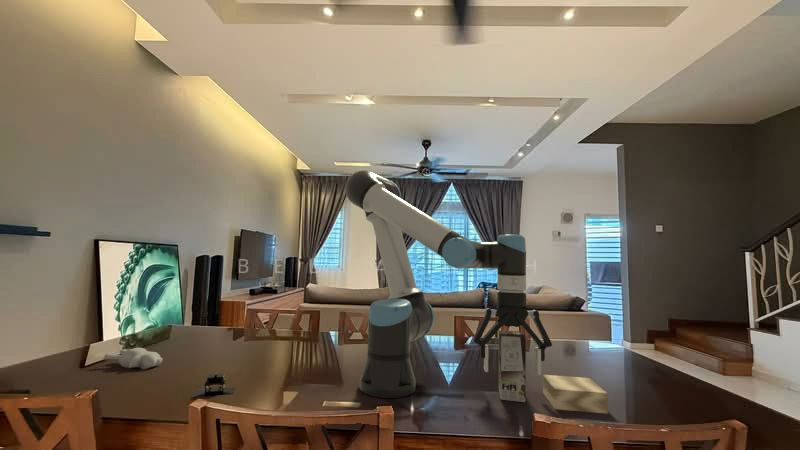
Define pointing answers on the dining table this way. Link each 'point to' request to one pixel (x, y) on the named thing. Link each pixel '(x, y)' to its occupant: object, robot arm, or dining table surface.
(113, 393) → the dining table surface
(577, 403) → the beech block
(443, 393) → the dining table surface
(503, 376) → the coffee box
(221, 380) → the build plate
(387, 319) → the robot arm
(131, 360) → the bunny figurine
